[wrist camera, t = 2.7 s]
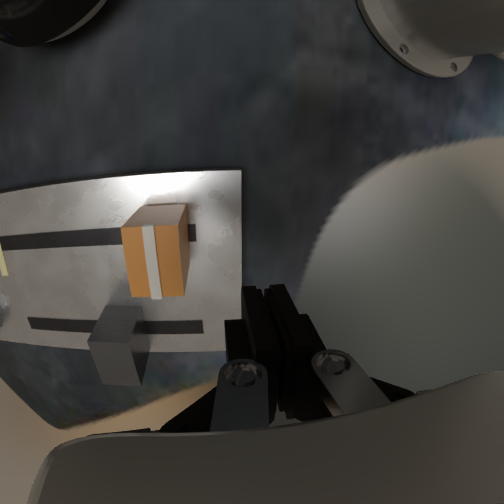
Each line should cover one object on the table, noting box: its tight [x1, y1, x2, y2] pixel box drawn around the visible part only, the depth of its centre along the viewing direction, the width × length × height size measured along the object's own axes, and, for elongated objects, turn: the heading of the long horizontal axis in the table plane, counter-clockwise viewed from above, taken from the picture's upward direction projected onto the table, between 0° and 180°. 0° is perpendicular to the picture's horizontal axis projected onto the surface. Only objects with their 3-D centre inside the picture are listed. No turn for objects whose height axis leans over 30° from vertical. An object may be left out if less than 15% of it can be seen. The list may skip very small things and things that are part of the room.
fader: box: [121, 204, 190, 300], centre depth 17 cm, size 3×4×5 cm
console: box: [0, 167, 242, 386], centre depth 19 cm, size 28×14×6 cm, turn 89°
